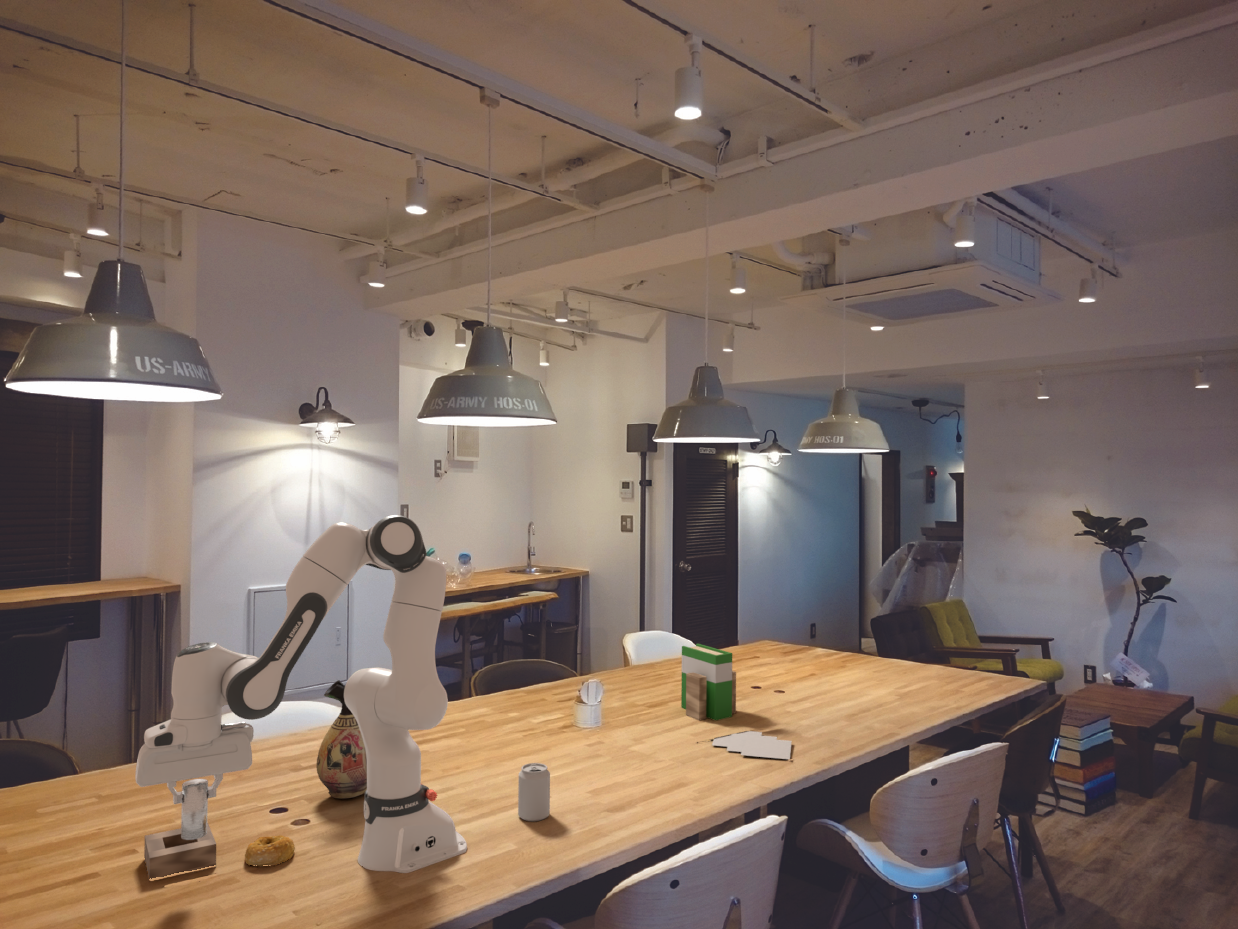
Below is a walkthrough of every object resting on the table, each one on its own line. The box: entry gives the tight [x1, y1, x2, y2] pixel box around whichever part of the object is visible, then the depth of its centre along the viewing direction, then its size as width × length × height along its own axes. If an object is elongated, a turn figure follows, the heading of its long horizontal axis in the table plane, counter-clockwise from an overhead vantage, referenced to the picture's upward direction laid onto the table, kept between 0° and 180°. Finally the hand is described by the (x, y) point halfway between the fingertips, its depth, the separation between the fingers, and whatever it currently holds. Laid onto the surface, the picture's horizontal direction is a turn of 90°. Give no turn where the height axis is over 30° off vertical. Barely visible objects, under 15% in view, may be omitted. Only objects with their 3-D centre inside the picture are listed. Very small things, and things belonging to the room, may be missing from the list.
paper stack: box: [711, 730, 793, 760], centre depth 256 cm, size 23×25×1 cm
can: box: [517, 762, 551, 822], centre depth 200 cm, size 8×8×12 cm
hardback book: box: [680, 643, 733, 721], centre depth 288 cm, size 18×7×24 cm, turn 35°
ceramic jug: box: [316, 679, 367, 799], centre depth 214 cm, size 17×15×30 cm
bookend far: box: [732, 670, 737, 715], centre depth 289 cm, size 3×7×14 cm, turn 33°
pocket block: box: [143, 822, 217, 880], centre depth 175 cm, size 12×12×5 cm
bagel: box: [244, 834, 296, 867], centre depth 178 cm, size 10×11×5 cm
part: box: [180, 778, 209, 840], centre depth 164 cm, size 4×4×10 cm
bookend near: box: [685, 672, 707, 721], centre depth 282 cm, size 3×7×14 cm, turn 34°
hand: (194, 799), depth 164 cm, fingers closed on part, 4 cm apart
